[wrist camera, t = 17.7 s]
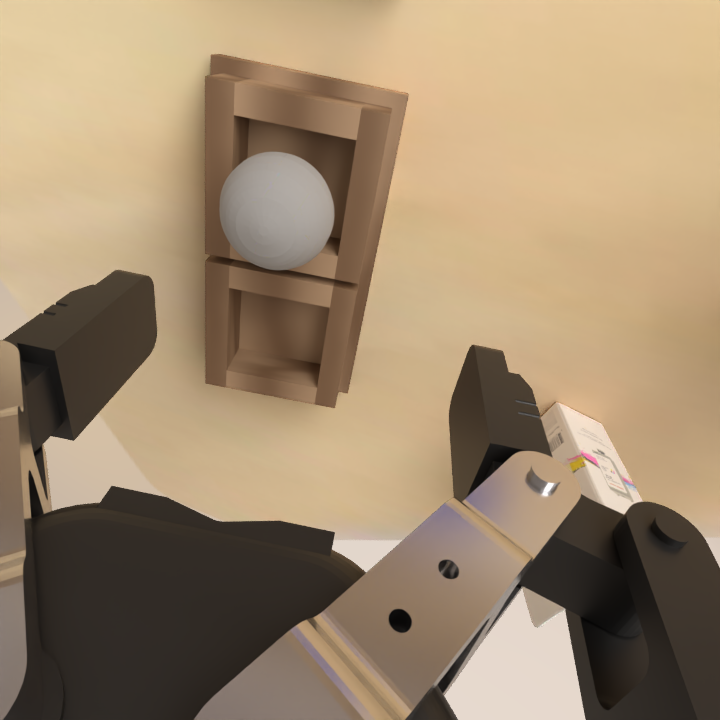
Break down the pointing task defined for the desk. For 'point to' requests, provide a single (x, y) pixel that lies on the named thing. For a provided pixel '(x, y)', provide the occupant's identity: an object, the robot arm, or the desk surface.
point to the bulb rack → (342, 250)
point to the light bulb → (276, 210)
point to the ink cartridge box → (583, 477)
